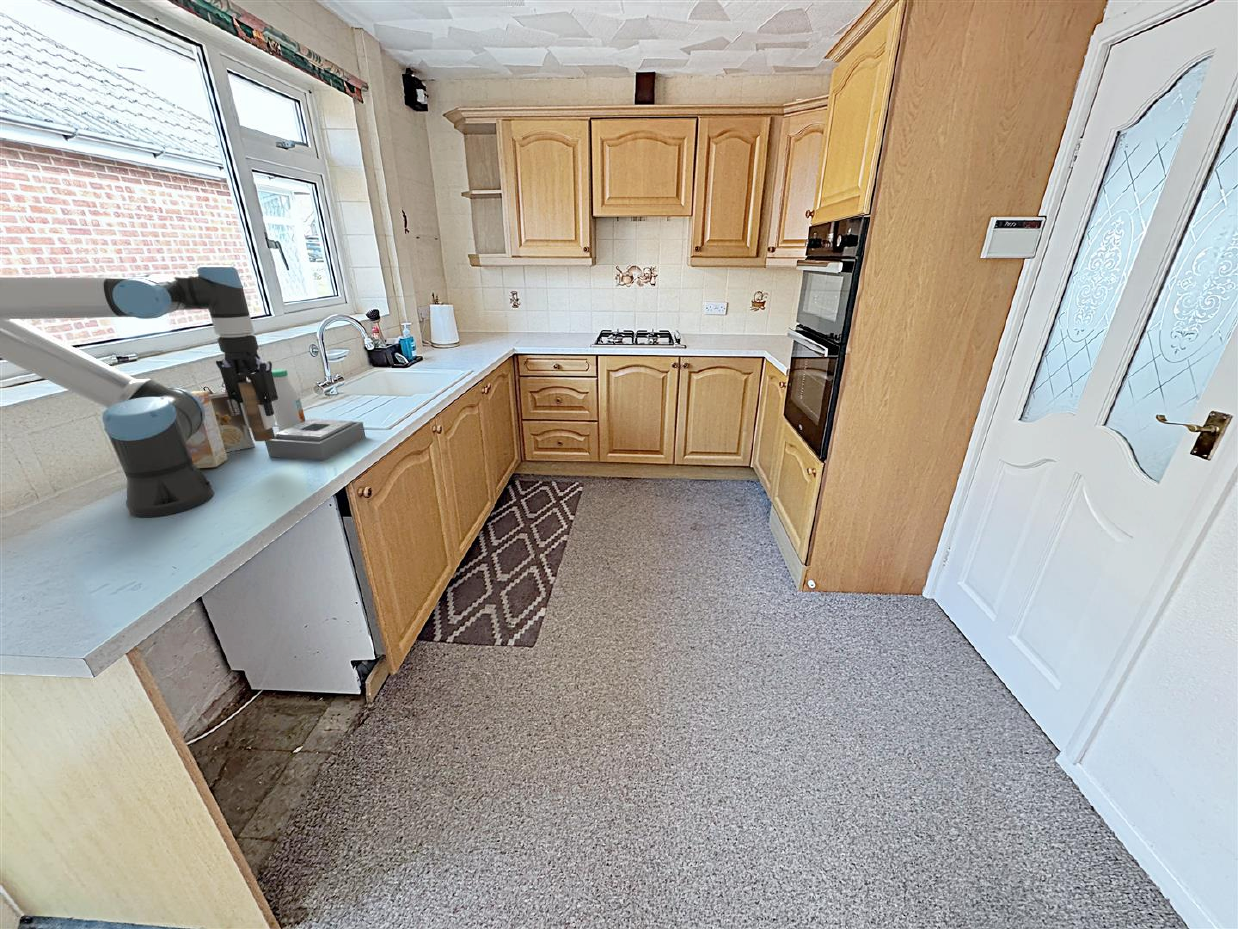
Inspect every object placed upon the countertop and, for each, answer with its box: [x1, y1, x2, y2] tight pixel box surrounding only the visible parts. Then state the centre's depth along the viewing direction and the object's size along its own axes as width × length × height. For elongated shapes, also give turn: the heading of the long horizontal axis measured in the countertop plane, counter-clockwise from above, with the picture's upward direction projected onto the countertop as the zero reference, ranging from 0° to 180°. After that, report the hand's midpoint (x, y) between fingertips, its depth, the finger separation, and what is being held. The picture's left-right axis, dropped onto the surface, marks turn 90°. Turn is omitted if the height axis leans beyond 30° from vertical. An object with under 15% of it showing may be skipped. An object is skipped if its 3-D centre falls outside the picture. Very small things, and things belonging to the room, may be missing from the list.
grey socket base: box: [264, 420, 366, 461], centre depth 148 cm, size 19×17×5 cm
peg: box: [238, 379, 275, 442], centre depth 127 cm, size 4×4×15 cm
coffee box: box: [209, 391, 255, 453], centre depth 144 cm, size 9×6×16 cm
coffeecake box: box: [186, 390, 228, 469], centre depth 131 cm, size 15×7×20 cm, turn 105°
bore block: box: [274, 418, 353, 442], centre depth 147 cm, size 14×14×5 cm
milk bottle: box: [271, 368, 306, 432], centre depth 155 cm, size 8×8×20 cm
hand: (261, 426), depth 129 cm, fingers closed on peg, 4 cm apart
